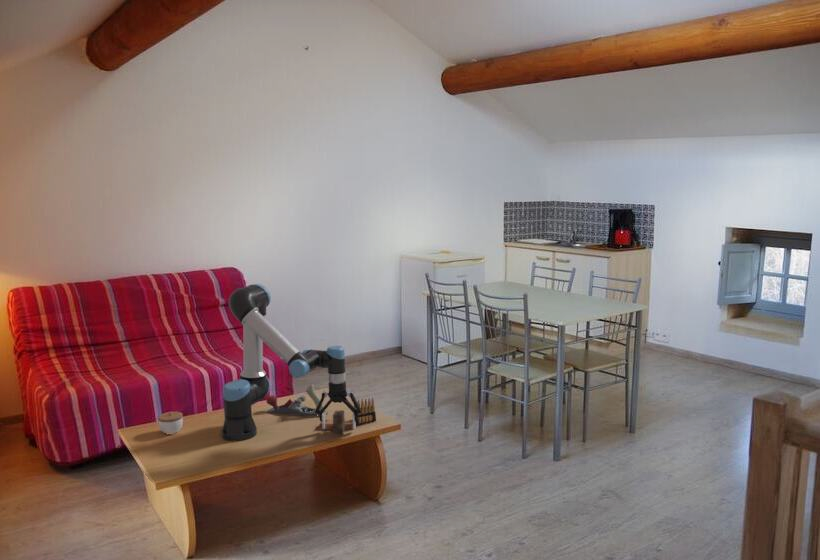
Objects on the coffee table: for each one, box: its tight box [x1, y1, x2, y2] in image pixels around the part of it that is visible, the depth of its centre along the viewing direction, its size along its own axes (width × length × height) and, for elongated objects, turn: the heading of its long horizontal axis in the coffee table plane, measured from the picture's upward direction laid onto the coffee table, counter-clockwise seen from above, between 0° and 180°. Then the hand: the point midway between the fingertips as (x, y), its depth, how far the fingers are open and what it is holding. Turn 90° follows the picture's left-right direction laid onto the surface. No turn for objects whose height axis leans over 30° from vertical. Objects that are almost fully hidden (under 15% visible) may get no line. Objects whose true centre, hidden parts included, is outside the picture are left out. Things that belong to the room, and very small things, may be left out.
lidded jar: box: [157, 411, 184, 434], centre depth 319 cm, size 11×11×9 cm
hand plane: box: [266, 383, 329, 418], centre depth 340 cm, size 7×31×15 cm, turn 73°
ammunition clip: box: [353, 396, 377, 426], centre depth 324 cm, size 11×2×12 cm, turn 119°
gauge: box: [332, 409, 346, 436], centre depth 315 cm, size 4×10×10 cm, turn 176°
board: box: [318, 419, 354, 430], centre depth 320 cm, size 15×6×2 cm, turn 86°
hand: (339, 428), depth 314 cm, fingers open, 13 cm apart
